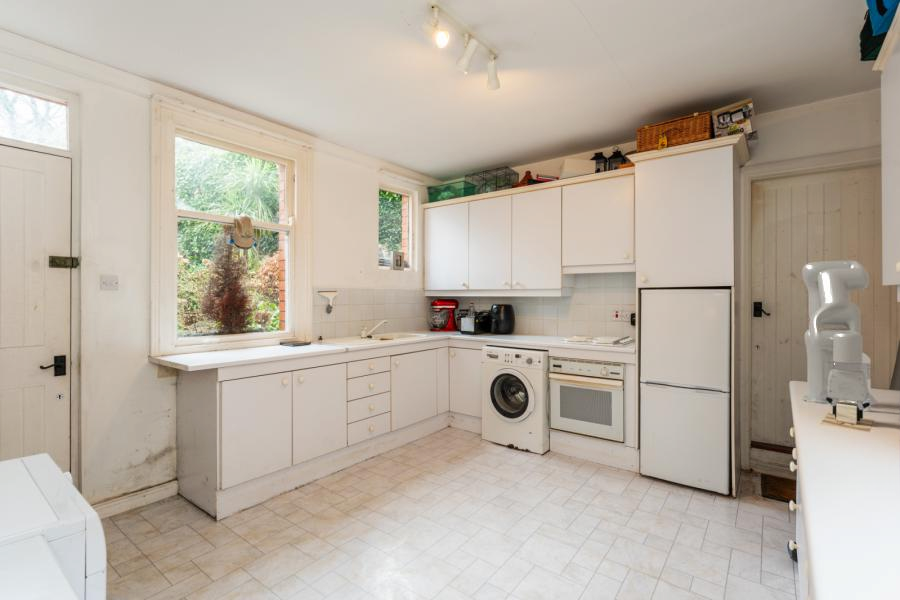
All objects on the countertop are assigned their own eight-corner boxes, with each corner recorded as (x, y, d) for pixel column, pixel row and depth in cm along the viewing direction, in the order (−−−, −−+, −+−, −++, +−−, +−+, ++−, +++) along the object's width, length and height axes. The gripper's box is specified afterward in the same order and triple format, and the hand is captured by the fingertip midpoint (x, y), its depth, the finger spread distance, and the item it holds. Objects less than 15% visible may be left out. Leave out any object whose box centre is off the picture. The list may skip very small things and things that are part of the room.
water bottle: (876, 414, 159) (875, 348, 159) (857, 414, 160) (857, 348, 160) (858, 409, 166) (858, 346, 166) (841, 409, 166) (841, 346, 166)
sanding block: (839, 417, 152) (839, 400, 152) (858, 420, 148) (858, 403, 148) (836, 421, 147) (836, 404, 147) (856, 424, 143) (856, 407, 143)
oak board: (829, 414, 159) (829, 411, 159) (874, 421, 150) (874, 418, 150) (820, 426, 145) (820, 423, 145) (869, 434, 136) (869, 431, 136)
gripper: (813, 365, 151) (814, 415, 151) (881, 371, 139) (881, 426, 139) (817, 363, 156) (817, 411, 156) (882, 368, 143) (882, 421, 144)
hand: (847, 418), depth 148 cm, fingers closed on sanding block, 5 cm apart
